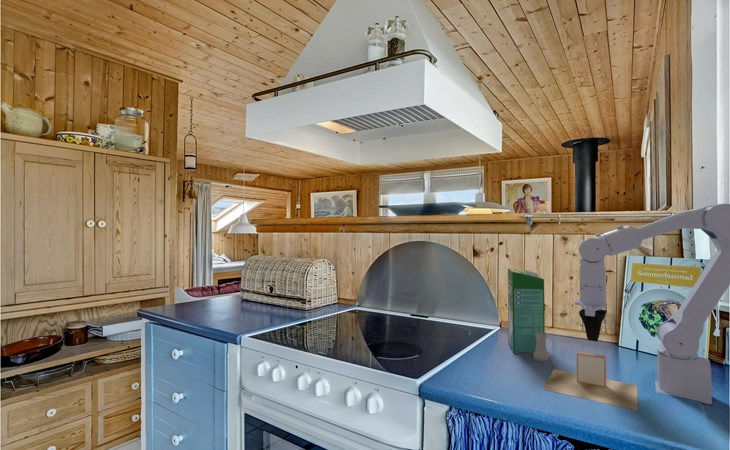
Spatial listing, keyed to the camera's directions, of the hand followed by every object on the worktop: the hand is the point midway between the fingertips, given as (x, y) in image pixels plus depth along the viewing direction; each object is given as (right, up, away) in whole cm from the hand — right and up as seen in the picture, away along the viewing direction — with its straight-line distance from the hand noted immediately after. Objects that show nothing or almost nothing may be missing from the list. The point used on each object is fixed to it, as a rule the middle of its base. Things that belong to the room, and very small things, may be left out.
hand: (593, 339), depth 96 cm
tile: (-3, -9, -4) cm, 11 cm away
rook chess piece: (-7, -10, +13) cm, 18 cm away
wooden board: (-5, -10, -6) cm, 13 cm away
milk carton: (-7, -10, +23) cm, 26 cm away
